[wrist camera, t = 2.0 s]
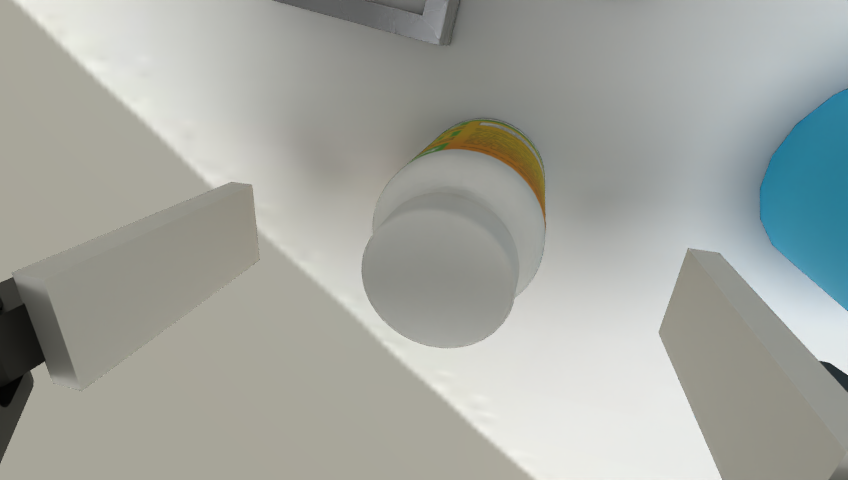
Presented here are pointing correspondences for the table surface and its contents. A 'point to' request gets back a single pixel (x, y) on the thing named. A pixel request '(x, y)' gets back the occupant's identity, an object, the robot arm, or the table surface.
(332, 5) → the collar
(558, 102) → the table surface
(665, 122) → the table surface
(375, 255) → the supplement bottle
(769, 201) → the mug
